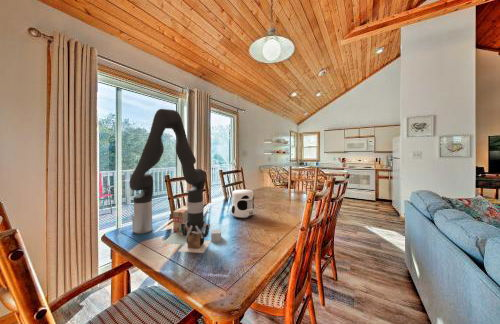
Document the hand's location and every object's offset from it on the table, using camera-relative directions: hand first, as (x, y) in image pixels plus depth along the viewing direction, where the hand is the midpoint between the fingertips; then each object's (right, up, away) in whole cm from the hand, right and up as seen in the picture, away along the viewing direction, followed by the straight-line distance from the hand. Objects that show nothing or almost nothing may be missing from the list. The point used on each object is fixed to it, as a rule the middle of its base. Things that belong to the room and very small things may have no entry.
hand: (195, 244), depth 95 cm
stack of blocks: (-13, 0, +27) cm, 30 cm away
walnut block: (0, -1, 0) cm, 1 cm away
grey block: (+9, -1, +7) cm, 11 cm away
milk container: (+21, +1, +46) cm, 51 cm away
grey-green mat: (-11, -1, +7) cm, 13 cm away
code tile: (0, -1, 0) cm, 1 cm away
